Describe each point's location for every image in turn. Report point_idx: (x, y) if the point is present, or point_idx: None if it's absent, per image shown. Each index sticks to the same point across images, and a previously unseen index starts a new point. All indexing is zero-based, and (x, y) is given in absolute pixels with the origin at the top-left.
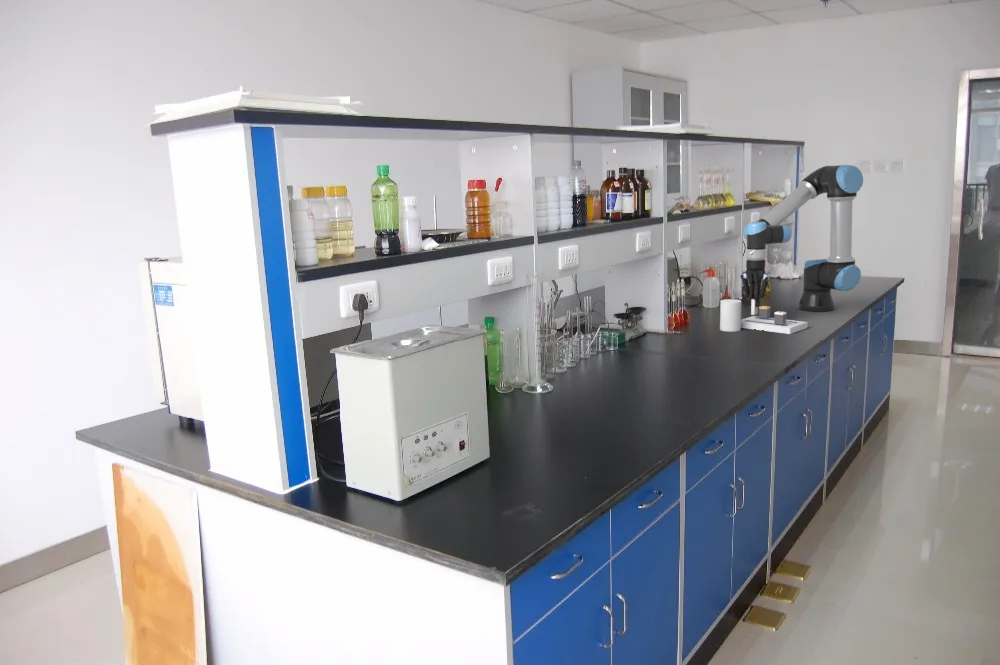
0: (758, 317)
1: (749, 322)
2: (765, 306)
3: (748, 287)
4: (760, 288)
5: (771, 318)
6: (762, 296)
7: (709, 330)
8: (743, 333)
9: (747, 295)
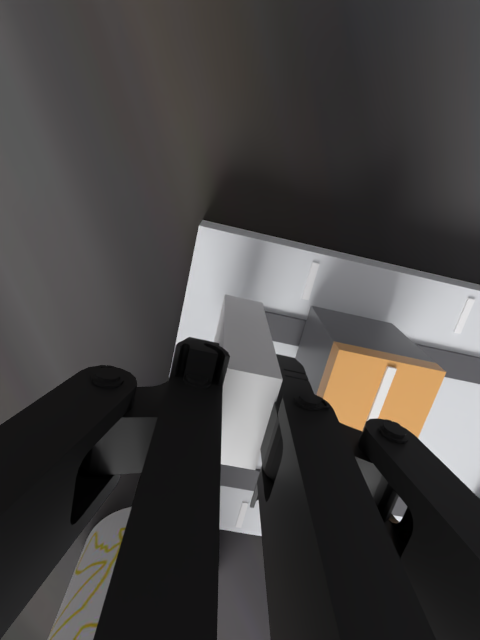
0: (269, 288)
1: (257, 515)
2: (384, 387)
3: (14, 544)
4: (395, 558)
5: (396, 294)
6: (395, 499)
7: (47, 619)
8: (265, 620)
9: (108, 486)
